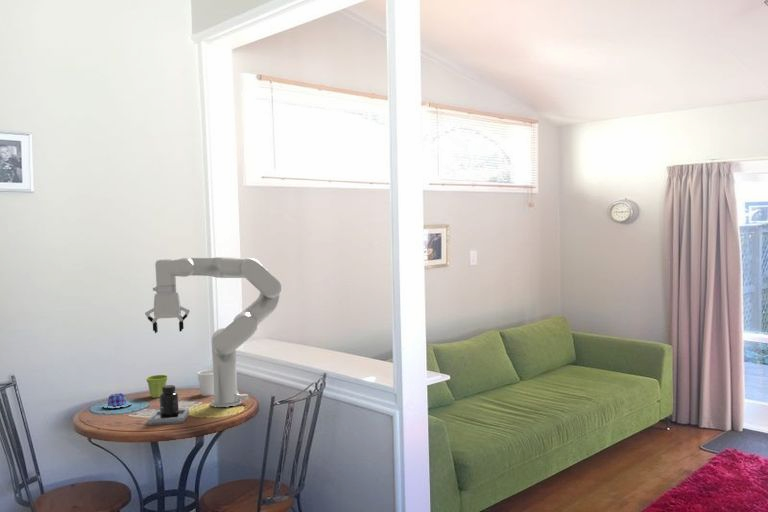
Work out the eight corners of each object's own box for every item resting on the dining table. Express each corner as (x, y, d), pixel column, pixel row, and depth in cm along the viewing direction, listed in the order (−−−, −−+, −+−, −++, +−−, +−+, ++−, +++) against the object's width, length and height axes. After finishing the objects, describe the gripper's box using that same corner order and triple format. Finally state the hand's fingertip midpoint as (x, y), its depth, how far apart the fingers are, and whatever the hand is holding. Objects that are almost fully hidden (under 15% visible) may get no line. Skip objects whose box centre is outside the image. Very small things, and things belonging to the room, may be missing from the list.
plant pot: (164, 398, 291) (163, 379, 291) (143, 399, 292) (142, 379, 291) (171, 393, 301) (171, 374, 301) (151, 394, 301) (150, 375, 301)
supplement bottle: (156, 419, 255) (155, 388, 255) (166, 414, 262) (165, 384, 261) (173, 419, 254) (171, 388, 253) (182, 415, 260) (181, 384, 260)
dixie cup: (218, 391, 302) (217, 369, 302) (215, 396, 294) (214, 373, 293) (200, 392, 301) (199, 370, 301) (196, 397, 293) (195, 374, 293)
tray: (189, 413, 265) (189, 408, 265) (183, 422, 252) (183, 417, 252) (155, 415, 263) (155, 410, 263) (147, 425, 250) (147, 419, 250)
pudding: (130, 402, 289) (130, 390, 288) (134, 408, 278) (133, 395, 278) (100, 406, 283) (100, 393, 283) (103, 412, 272) (102, 399, 272)
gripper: (142, 291, 266) (144, 334, 266) (187, 289, 269) (189, 331, 269) (145, 290, 273) (147, 331, 274) (189, 288, 276) (191, 329, 277)
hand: (168, 331), depth 272 cm, fingers open, 9 cm apart
